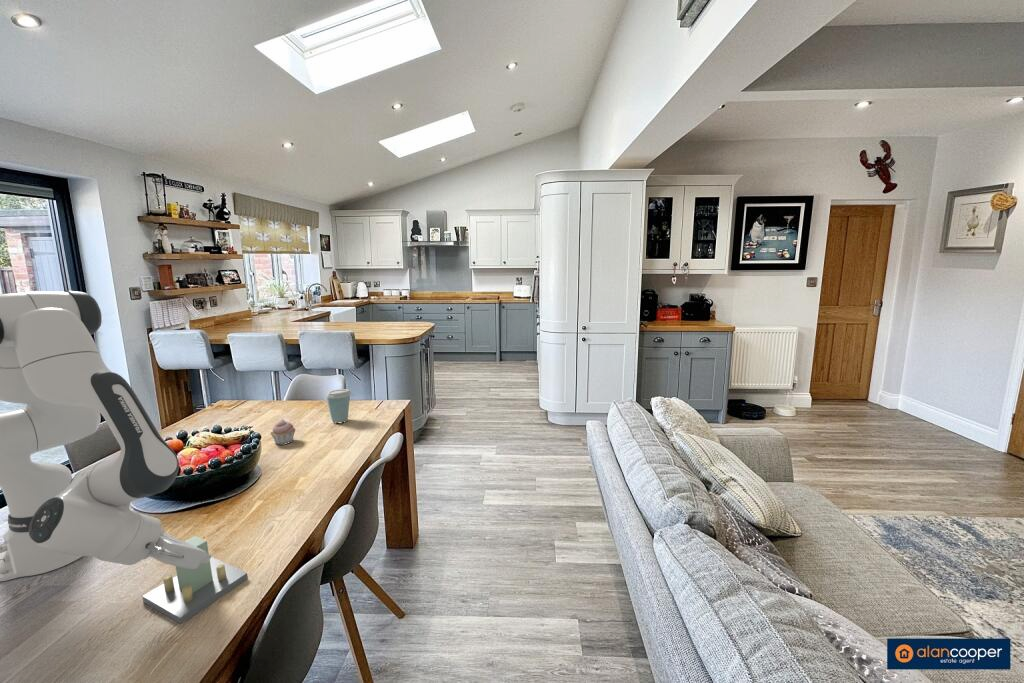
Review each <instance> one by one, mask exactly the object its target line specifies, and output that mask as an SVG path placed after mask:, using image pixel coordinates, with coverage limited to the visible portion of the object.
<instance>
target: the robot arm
mask: <svg viewBox="0 0 1024 683" xmlns="http://www.w3.org/2000/svg"><path fill="white" fill-rule="evenodd" d="M102 317H103V316H102V311H101V308H100V306H99V304H98V302H97V300H96V299H95V298H94V297H93V296H91V295H90V294H88V293H87V292H83V291H75V290H65V291H46V290H43V291H42V290H41V291H40V290H38V291H37V290H35V291H34V290H33V291H32V290H31V291H30V290H29V291H21V292H12V293H10V292H9V293H2V294H1V293H0V401H3V402H5V403H12V404H13V403H14V404H23V405H26V406H25V407H23V408H19V409H15V410H9V411H4V412H0V489H1V491H2V494H3V496H4V499H5V501H6V502H5V503H6V504H7V508H8V512H9V514H8V516H7V524H8V530H7V531H6V532H5V533H4V534H3V542H0V582H5V581H6V582H7V581H11V580H13V579H17V578H22V577H31V576H35V575H36V576H37V575H41V574H45V573H49V572H51V571H54V570H57V569H60V568H62V567H65V566H66V565H69V564H72V563H73V562H76V561H77V560H78V559H81V558H82V557H94V558H96V559H98V560H100V561H103V562H106V563H107V562H108V563H113V564H119V565H123V566H124V565H125V566H133V565H136V564H137V563H139V562H141V561H142V560H146V559H148V558H152V559H154V560H156V561H159V562H160V563H163V564H167V565H169V566H174V567H176V566H177V567H182V568H186V569H191V570H195V569H197V568H198V567H199V566H200V564H201V563H203V564H207V563H208V562H209V560H210V559H211V557H212V555H211V554H210V553H209V554H207V553H206V551H204V550H202V549H200V548H198V547H195V546H193V545H191V544H189V543H186V542H184V541H185V540H181V539H180V538H177V537H175V536H173V535H172V534H171V535H170V534H168V533H166V532H165V531H164V528H163V527H162V526H163V525H162V521H161V520H160V519H159V518H157V517H153V516H149V515H146V514H142V513H139V512H135V511H133V510H131V509H130V506H131V503H133V502H135V501H138V500H140V499H144V498H147V497H151V496H154V495H158V494H161V493H164V492H165V491H166V490H168V489H169V488H170V487H171V486H172V485H173V484H174V482H175V481H176V478H177V477H178V473H179V469H180V468H179V467H180V461H179V458H178V456H177V454H176V452H175V451H174V450H173V449H172V447H171V446H170V445H169V444H168V443H167V442H166V441H165V439H164V438H163V437H162V436H161V434H160V432H159V431H158V430H157V428H156V426H155V424H154V423H153V422H152V420H151V418H150V416H149V414H148V413H147V411H146V409H145V408H144V406H143V404H142V402H141V401H140V400H139V397H138V396H137V394H136V393H135V392H134V389H133V387H131V385H130V384H129V382H128V381H127V380H126V379H125V378H124V377H123V376H122V375H120V374H118V373H116V372H112V371H111V370H110V368H108V367H107V365H106V363H105V362H104V361H103V358H102V357H101V354H100V351H99V349H98V347H97V344H96V341H95V340H94V338H93V337H92V335H94V334H95V333H96V332H98V330H99V329H100V328H101V326H102V322H103V320H102ZM101 416H102V417H103V419H104V420H105V423H106V424H107V426H108V427H109V429H110V430H111V433H112V434H113V436H114V437H115V440H116V442H117V443H118V445H119V447H120V453H119V454H117V455H116V454H115V455H114V456H111V457H109V458H106V459H104V460H101V461H98V462H95V463H94V464H91V465H90V466H87V467H85V468H83V469H82V470H80V471H79V472H77V473H76V474H75V475H74V476H72V475H73V474H72V471H71V470H70V468H69V467H67V466H66V465H64V464H62V463H57V462H47V461H46V462H41V461H40V462H39V461H32V458H31V456H32V455H35V454H36V453H39V452H42V451H43V452H44V451H47V450H50V449H54V448H58V447H61V446H65V445H69V444H72V443H75V442H77V441H79V440H83V439H84V438H87V437H89V436H91V435H93V434H95V433H96V431H97V430H98V429H99V426H100V425H101V418H102V417H101Z"/></svg>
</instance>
